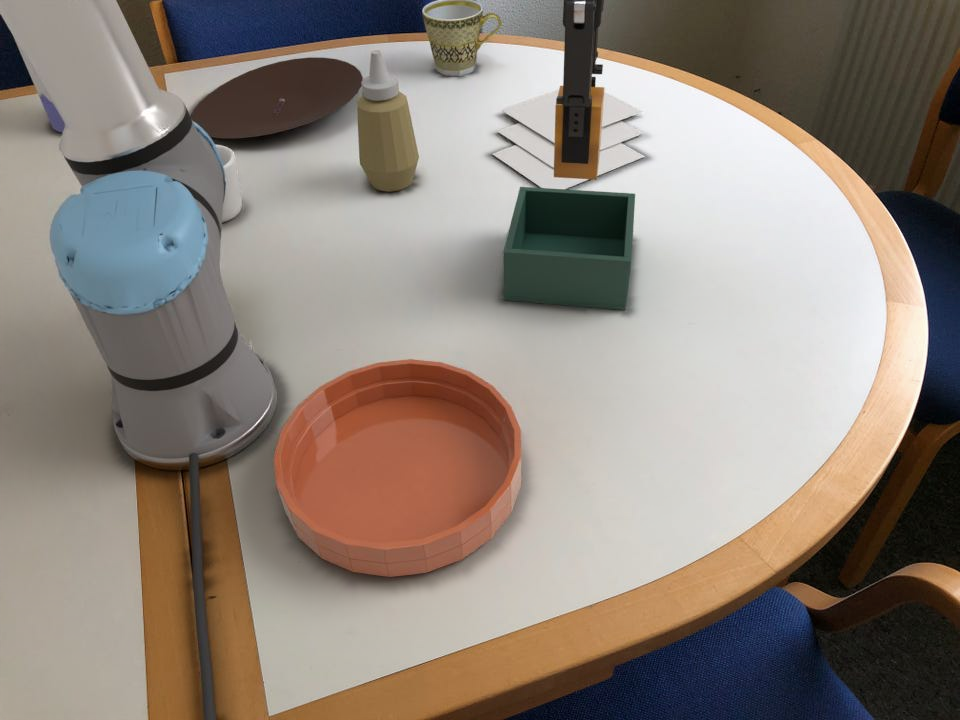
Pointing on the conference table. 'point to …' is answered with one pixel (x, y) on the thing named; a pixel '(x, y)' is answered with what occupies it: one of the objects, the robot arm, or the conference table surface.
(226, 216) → the cup
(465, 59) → the ceramic cup
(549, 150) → the paper stack
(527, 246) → the bin
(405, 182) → the squeeze bottle
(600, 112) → the block
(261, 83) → the plate
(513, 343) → the conference table surface
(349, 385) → the bowl
